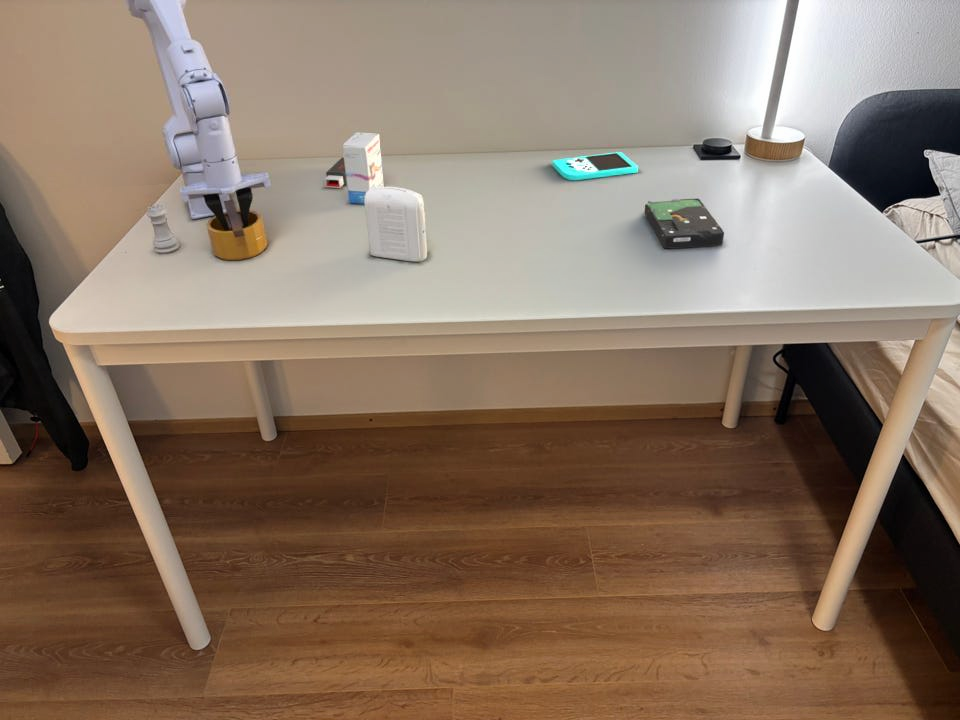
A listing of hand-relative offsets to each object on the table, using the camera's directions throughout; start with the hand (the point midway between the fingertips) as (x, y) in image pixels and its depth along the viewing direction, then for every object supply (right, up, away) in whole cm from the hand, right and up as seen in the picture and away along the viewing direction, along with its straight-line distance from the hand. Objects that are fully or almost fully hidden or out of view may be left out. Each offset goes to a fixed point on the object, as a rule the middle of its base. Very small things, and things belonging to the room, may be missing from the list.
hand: (236, 231), depth 131 cm
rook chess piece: (-13, -3, +3) cm, 14 cm away
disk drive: (+79, +1, +3) cm, 79 cm away
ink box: (+20, +11, +20) cm, 30 cm away
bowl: (0, -3, +2) cm, 3 cm away
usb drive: (+14, +16, +28) cm, 36 cm away
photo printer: (+29, -5, -2) cm, 29 cm away
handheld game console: (+67, +18, +28) cm, 75 cm away
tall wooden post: (0, -2, +1) cm, 2 cm away
